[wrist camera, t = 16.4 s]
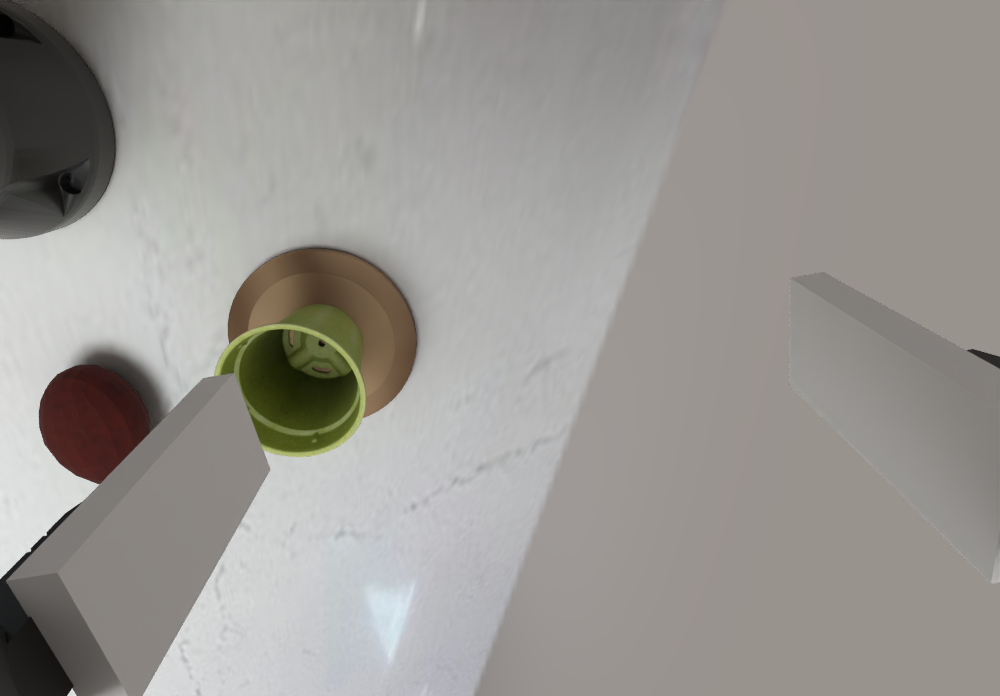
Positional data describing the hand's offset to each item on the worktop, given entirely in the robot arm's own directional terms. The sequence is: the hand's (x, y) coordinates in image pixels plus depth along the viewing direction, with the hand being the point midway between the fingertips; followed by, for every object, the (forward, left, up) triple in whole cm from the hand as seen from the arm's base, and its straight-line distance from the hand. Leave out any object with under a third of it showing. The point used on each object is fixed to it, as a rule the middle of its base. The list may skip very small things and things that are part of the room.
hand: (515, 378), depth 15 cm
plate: (-15, -9, -32) cm, 36 cm away
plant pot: (-15, -9, -31) cm, 35 cm away
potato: (-33, -12, -32) cm, 48 cm away
